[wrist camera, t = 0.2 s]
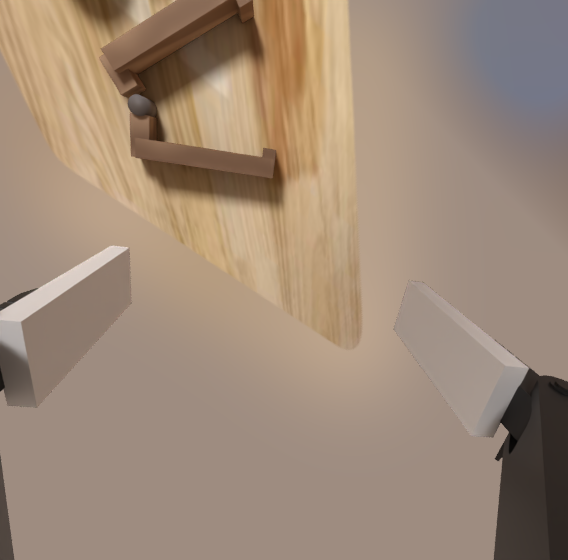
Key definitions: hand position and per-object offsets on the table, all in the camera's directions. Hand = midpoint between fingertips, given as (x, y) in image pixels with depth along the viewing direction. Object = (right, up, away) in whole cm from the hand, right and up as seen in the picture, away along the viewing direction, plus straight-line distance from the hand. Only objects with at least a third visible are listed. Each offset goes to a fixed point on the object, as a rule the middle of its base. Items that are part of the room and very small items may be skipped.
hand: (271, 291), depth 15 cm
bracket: (-10, +26, +19) cm, 33 cm away
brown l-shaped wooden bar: (-8, +17, +22) cm, 29 cm away
